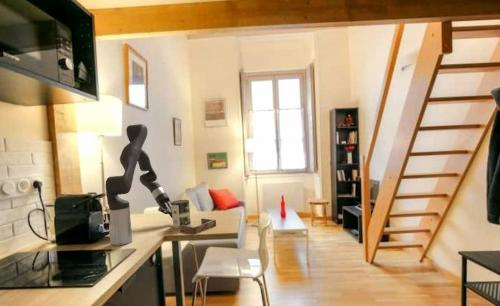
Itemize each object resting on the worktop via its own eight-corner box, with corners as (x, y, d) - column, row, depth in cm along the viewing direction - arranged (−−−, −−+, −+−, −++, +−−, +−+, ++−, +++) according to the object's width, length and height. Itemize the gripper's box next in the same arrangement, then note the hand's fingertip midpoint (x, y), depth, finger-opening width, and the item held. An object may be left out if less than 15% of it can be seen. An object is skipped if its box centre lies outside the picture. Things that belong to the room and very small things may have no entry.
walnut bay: (194, 233, 146) (194, 227, 146) (181, 230, 152) (180, 225, 152) (216, 225, 158) (215, 219, 158) (202, 223, 165) (202, 218, 165)
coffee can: (192, 222, 169) (190, 199, 169) (188, 227, 159) (186, 202, 159) (175, 223, 169) (173, 200, 169) (170, 228, 159) (168, 203, 159)
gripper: (153, 194, 168) (167, 216, 161) (171, 190, 179) (185, 211, 171) (149, 202, 171) (162, 224, 164) (167, 198, 182) (180, 218, 175)
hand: (174, 217), depth 168 cm, fingers closed
